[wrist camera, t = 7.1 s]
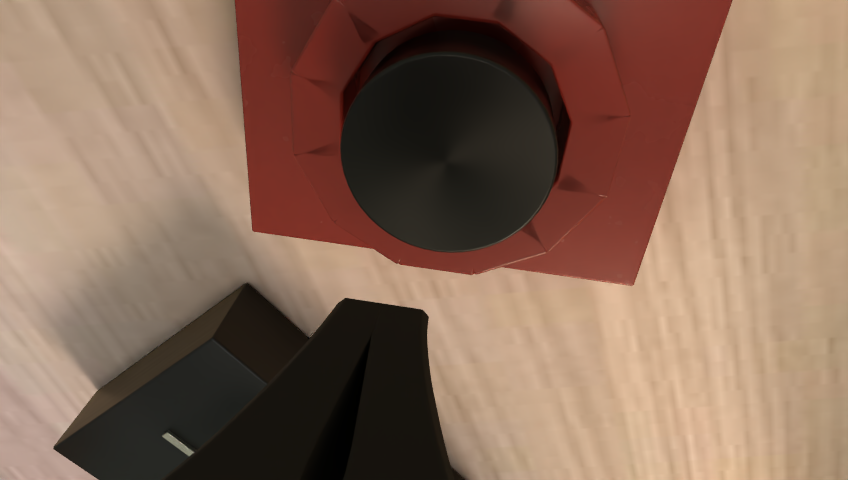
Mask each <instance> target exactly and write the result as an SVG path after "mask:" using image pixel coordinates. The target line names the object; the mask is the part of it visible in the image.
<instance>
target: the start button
mask: <svg viewBox="0 0 848 480" xmlns="http://www.w3.org/2000/svg"><path fill="white" fill-rule="evenodd" d="M340 152H341V162H342V168H343V172H344V175H345V178H346V181H347V184H348V187H349V189H350V191H351V193H352V195H353V197H354V198H355V200H356V201H357V203H358V204H359V206H360V207H361V209H362V210H363V211H364V212H365V213H366V215H367V216H368V217H369V218H370V219H371V220H372V221H373V222H374V223H375V224H376V225H378V226H379V227H380V228H382V229H383V230H384V231H386V232H387V233H388V234H390V235H392V236H393V237H395V238H397V239H399V240H401V241H403V242H405V243H407V244H410V245H412V246H416V247H419V248H422V249H426V250H431V251H436V252H448V253H454V252H468V251H475V250H479V249H483V248H487V247H490V246H492V245H495V244H497V243H500V242H502V241H504V240H506V239H507V238H509V237H511V236H512V235H514V234H515V233H517V232H518V231H520V230H521V229H522V228H523V227H524V226H526V225H527V224H528V223H529V222H530V221H531V220H532V219H533V218H534V217H535V215H536V214H537V213H538V212H539V211H540V209H541V208H542V206H543V205H544V203H545V202H546V200H547V198H548V196H549V194H550V192H551V190H552V187H553V184H554V181H555V177H556V173H557V166H558V143H557V136H556V130H555V123H554V117H553V111H552V106H551V102H550V99H549V95H548V93H547V91H546V88H545V86H544V84H543V82H542V80H541V79H540V77H539V76H538V74H537V72H536V71H535V70H534V68H533V67H532V66H531V65H530V64H529V63H528V61H527V60H526V59H524V58H523V57H522V56H521V55H520V54H519V53H518V52H517V51H515V50H514V49H512V48H511V47H509V46H508V45H506V44H505V43H503V42H500V41H498V40H496V39H494V38H492V37H489V36H486V35H483V34H480V33H475V32H470V31H463V30H444V31H436V32H431V33H427V34H423V35H420V36H418V37H415V38H412V39H410V40H408V41H406V42H405V43H403V44H401V45H399V46H398V47H396V48H395V49H394V50H392V51H391V52H390V53H388V54H387V55H386V56H385V57H384V58H383V59H382V60H381V61H380V62H379V63H378V65H377V66H376V67H375V69H374V70H373V71H372V73H371V74H370V76H369V77H368V79H367V80H366V82H365V83H364V85H363V86H362V88H361V89H360V91H359V92H358V94H357V95H356V97H355V99H354V101H353V102H352V104H351V106H350V108H349V110H348V112H347V115H346V118H345V120H344V124H343V128H342V133H341V143H340Z"/></svg>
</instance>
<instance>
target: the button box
mask: <svg viewBox="0 0 848 480" xmlns="http://www.w3.org/2000/svg"><path fill="white" fill-rule="evenodd" d="M731 3H732V0H235V9H236V22H237V35H238V48H239V61H240V75H241V88H242V101H243V114H244V127H245V140H246V153H247V166H248V180H249V193H250V206H251V219H252V230H253V231H254V232H261V233H268V234H275V235H282V236H289V237H296V238H303V239H310V240H317V241H323V242H330V243H337V244H344V245H351V246H358V247H365V248H372V249H375V250H376V251H378V252H379V253H381V254H382V255H384V256H385V257H387V258H389V259H390V260H392V261H393V262H395V263H397V264H398V263H399V264H401V265H407V266H414V267H421V268H428V269H435V270H442V271H448V272H455V273H462V274H469V275H473V274H479V273H483V272H486V271H489V270H493V269H496V268H499V267H505V268H512V269H519V270H526V271H533V272H540V273H546V274H553V275H560V276H567V277H574V278H581V279H588V280H595V281H602V282H609V283H616V284H623V285H630V286H633V285H634V282H635V280H636V277H637V274H638V271H639V268H640V265H641V262H642V259H643V257H644V254H645V251H646V248H647V245H648V242H649V239H650V236H651V233H652V231H653V228H654V225H655V222H656V219H657V216H658V213H659V210H660V208H661V205H662V202H663V199H664V196H665V193H666V190H667V187H668V185H669V182H670V179H671V176H672V173H673V170H674V167H675V164H676V162H677V159H678V156H679V153H680V150H681V147H682V144H683V141H684V138H685V136H686V133H687V130H688V127H689V124H690V121H691V118H692V115H693V113H694V110H695V107H696V104H697V101H698V98H699V95H700V92H701V90H702V87H703V84H704V81H705V78H706V75H707V72H708V69H709V67H710V64H711V61H712V58H713V55H714V52H715V49H716V46H717V43H718V41H719V38H720V35H721V32H722V29H723V26H724V23H725V20H726V18H727V15H728V12H729V9H730V6H731ZM444 30H463V31H470V32H475V33H480V34H483V35H486V36H489V37H492V38H494V39H496V40H498V41H500V42H503V43H505V44H506V45H508V46H509V47H511V48H512V49H514V50H515V51H517V52H518V53H519V54H520V55H521V56H522V57H523V58H524V59H526V60H527V61H528V63H529V64H530V65H531V66H532V67H533V68H534V70H535V71H536V72H537V74H538V76H539V77H540V79H541V80H542V82H543V84H544V86H545V88H546V91H547V93H548V95H549V99H550V102H551V106H552V111H553V117H554V123H555V130H556V136H557V143H558V166H557V173H556V177H555V181H554V184H553V187H552V190H551V192H550V194H549V196H548V198H547V200H546V202H545V203H544V205H543V206H542V208H541V209H540V211H539V212H538V213H537V214H536V215H535V217H534V218H533V219H532V220H531V221H530V222H529V223H528V224H527V225H526V226H524V227H523V228H522V229H521V230H520V231H518V232H517V233H515V234H514V235H512V236H511V237H509V238H507V239H506V240H504V241H502V242H500V243H497V244H495V245H492V246H490V247H487V248H483V249H479V250H475V251H468V252H454V253H448V252H436V251H431V250H426V249H422V248H419V247H416V246H412V245H410V244H407V243H405V242H403V241H401V240H399V239H397V238H395V237H393V236H392V235H390V234H388V233H387V232H386V231H384V230H383V229H382V228H380V227H379V226H378V225H376V224H375V223H374V222H373V221H372V220H371V219H370V218H369V217H368V216H367V215H366V213H365V212H364V211H363V210H362V209H361V207H360V206H359V204H358V203H357V201H356V200H355V198H354V197H353V195H352V193H351V191H350V189H349V187H348V184H347V181H346V178H345V175H344V172H343V168H342V162H341V152H340V143H341V133H342V128H343V124H344V120H345V118H346V115H347V112H348V110H349V108H350V106H351V104H352V102H353V101H354V99H355V97H356V95H357V94H358V92H359V91H360V89H361V88H362V86H363V85H364V83H365V82H366V80H367V79H368V77H369V76H370V74H371V73H372V71H373V70H374V69H375V67H376V66H377V65H378V63H379V62H380V61H381V60H382V59H383V58H384V57H385V56H386V55H387V54H388V53H390V52H391V51H392V50H394V49H395V48H396V47H398V46H399V45H401V44H403V43H405V42H406V41H408V40H410V39H412V38H415V37H418V36H420V35H423V34H427V33H431V32H436V31H444Z"/></svg>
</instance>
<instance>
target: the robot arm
mask: <svg viewBox="0 0 848 480" xmlns="http://www.w3.org/2000/svg"><path fill="white" fill-rule="evenodd" d="M428 319H429V317H428V315H427V314H426V313H425V312H424V311H423V310H421V309H414V308H408V307H401V306H395V305H388V304H382V303H375V302H369V301H362V300H356V299H349V298H345V299H344V300H342V301H340V302H339V303H338V304H337V305H336V307H335V308H334V309H333V311H332V312H331V313H330V314H329V316H328V317H327V318H326V319H325V321H324V322H323V323H322V324H321V326H320V327H319V328H318V329H317V330H316V332H315V333H314V334H313V335H312V336H311V337H310V339H309V340H308V341H307V342H306V343H305V344H304V345H303V346H302V348H301V349H300V350H299V351H298V352H297V353H296V354H295V355H294V357H293V358H292V359H291V360H290V361H289V362H288V363H287V364H286V365H285V366H284V367H283V368H282V369H281V370H280V371H279V372H278V373H277V374H276V375H275V377H274V378H273V379H272V380H271V381H270V382H269V383H268V384H267V385H266V386H265V387H264V388H263V389H262V390H261V391H260V392H259V393H258V394H257V395H256V396H255V397H254V398H253V399H252V400H251V401H250V402H249V403H248V404H246V405H245V406H244V407H243V408H242V409H241V410H240V411H239V412H238V413H237V414H236V415H235V416H234V417H233V418H232V419H231V420H229V421H228V422H227V423H226V424H225V425H224V426H223V427H222V428H221V429H220V430H219V431H218V432H217V433H216V434H214V435H213V436H212V437H211V438H210V439H209V440H208V441H207V442H205V443H204V444H203V445H202V446H201V447H200V448H199V449H197V450H196V451H195V452H194V453H193V454H192V455H190V456H189V457H188V458H187V459H186V460H184V461H183V462H182V463H181V464H180V465H178V466H177V467H176V468H175V469H173V470H172V471H171V472H170V473H169V474H167V475H166V476H165V477H164V478H162V479H161V480H454V476H453V472H452V469H451V465H450V462H449V458H448V455H447V451H446V447H445V443H444V439H443V435H442V431H441V427H440V422H439V417H438V413H437V408H436V403H435V398H434V393H433V388H432V382H431V375H430V367H429V359H428V347H427V326H428Z"/></svg>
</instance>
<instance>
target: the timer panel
mask: <svg viewBox="0 0 848 480" xmlns="http://www.w3.org/2000/svg"><path fill="white" fill-rule="evenodd" d="M308 340H309V339H308V338H307V337H306V336H305V335H304V334H303V333H302V332H301V331H300V330H299V329H297V328H296V327H295V326H294V325H293V324H292V323H291V322H290V321H289V320H287V319H286V318H285V317H284V316H283V315H282V314H281V313H280V312H279V311H278V310H276V309H275V308H274V307H273V306H272V305H271V304H270V303H269V302H268V301H266V300H265V299H264V298H263V297H262V296H261V295H260V294H259V293H258V292H257V291H255V290H254V289H253V288H252V287H251V286H250V285H249V284H245V285H243V286H242V287H240V288H239V289H238V290H236V291H235V292H234V293H232V294H231V295H229V296H228V297H227V298H225V299H224V300H223V301H221V302H220V303H218V304H217V305H216V306H214V307H213V308H211V309H210V310H209V311H207V312H206V313H205V314H203V315H202V316H200V317H199V318H198V319H196V320H195V321H194V322H192V323H191V324H189V325H188V326H187V327H185V328H184V329H182V330H181V331H180V332H178V333H177V334H176V335H174V336H173V337H171V338H170V339H169V340H167V341H166V342H165V343H163V344H162V345H160V346H159V347H158V348H156V349H155V350H153V351H152V352H151V353H149V354H148V355H147V356H145V357H144V358H142V359H141V360H140V361H138V362H137V363H136V364H134V365H133V366H131V367H130V368H129V369H127V370H126V371H125V372H123V373H122V374H120V375H119V376H118V377H116V378H115V379H113V380H112V381H111V382H109V383H108V384H107V385H105V386H104V387H102V388H101V389H100V390H98V391H97V392H96V393H95V394H94V396H93V397H92V398H91V400H90V401H89V402H88V403H87V405H86V406H85V407H84V408H83V410H82V411H81V412H80V414H79V415H78V416H77V417H76V419H75V420H74V421H73V423H72V424H71V425H70V426H69V428H68V429H67V430H66V432H65V433H64V434H63V435H62V437H61V438H60V439H59V441H58V442H57V443H56V444H55V446H54V448H53V449H54V450H56V451H57V452H59V453H60V454H62V455H63V456H64V457H66V458H67V459H69V460H70V461H72V462H73V463H75V464H76V465H78V466H79V467H81V468H82V469H84V470H85V471H87V472H88V473H90V474H91V475H93V476H94V477H96V478H97V479H99V480H161V479H162V478H164V477H165V476H166V475H167V474H169V473H170V472H171V471H172V470H173V469H175V468H176V467H177V466H178V465H180V464H181V463H182V462H183V461H184V460H186V459H187V458H188V457H189V456H190V455H192V454H193V453H194V452H195V451H196V450H197V449H199V448H200V447H201V446H202V445H203V444H204V443H205V442H207V441H208V440H209V439H210V438H211V437H212V436H213V435H214V434H216V433H217V432H218V431H219V430H220V429H221V428H222V427H223V426H224V425H225V424H226V423H227V422H228V421H229V420H231V419H232V418H233V417H234V416H235V415H236V414H237V413H238V412H239V411H240V410H241V409H242V408H243V407H244V406H245V405H246V404H248V403H249V402H250V401H251V400H252V399H253V398H254V397H255V396H256V395H257V394H258V393H259V392H260V391H261V390H262V389H263V388H264V387H265V386H266V385H267V384H268V383H269V382H270V381H271V380H272V379H273V378H274V377H275V375H276V374H277V373H278V372H279V371H280V370H281V369H282V368H283V367H284V366H285V365H286V364H287V363H288V362H289V361H290V360H291V359H292V358H293V357H294V355H295V354H296V353H297V352H298V351H299V350H300V349H301V348H302V346H303V345H304V344H305V343H306V342H307V341H308ZM451 469H452V468H451ZM452 472H453V476H454V480H464V479H463V478H462V477H461V476H460V475H459V474H458V473H457V472H455V471H454V470H453V469H452Z"/></svg>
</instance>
